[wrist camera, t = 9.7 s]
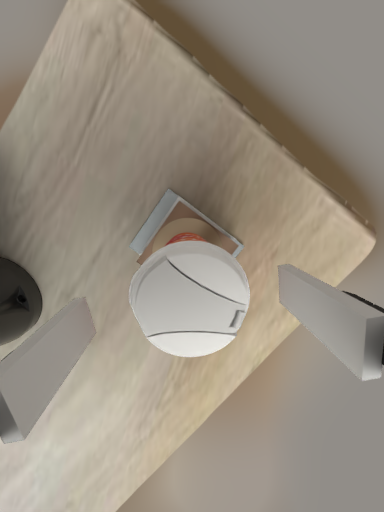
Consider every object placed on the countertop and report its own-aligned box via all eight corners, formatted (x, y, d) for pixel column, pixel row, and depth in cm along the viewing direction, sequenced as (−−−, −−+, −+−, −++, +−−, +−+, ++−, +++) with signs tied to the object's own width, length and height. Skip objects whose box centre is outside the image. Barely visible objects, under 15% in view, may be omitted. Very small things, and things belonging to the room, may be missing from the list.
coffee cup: (225, 233, 27) (276, 265, 12) (207, 288, 28) (232, 375, 14) (164, 215, 26) (139, 226, 11) (149, 273, 27) (111, 349, 13)
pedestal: (143, 253, 32) (136, 261, 27) (180, 201, 30) (179, 200, 25) (193, 287, 34) (195, 300, 29) (230, 239, 32) (239, 245, 27)
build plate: (130, 246, 33) (128, 247, 32) (169, 188, 31) (168, 187, 30) (202, 294, 35) (203, 297, 34) (242, 244, 34) (244, 245, 32)
